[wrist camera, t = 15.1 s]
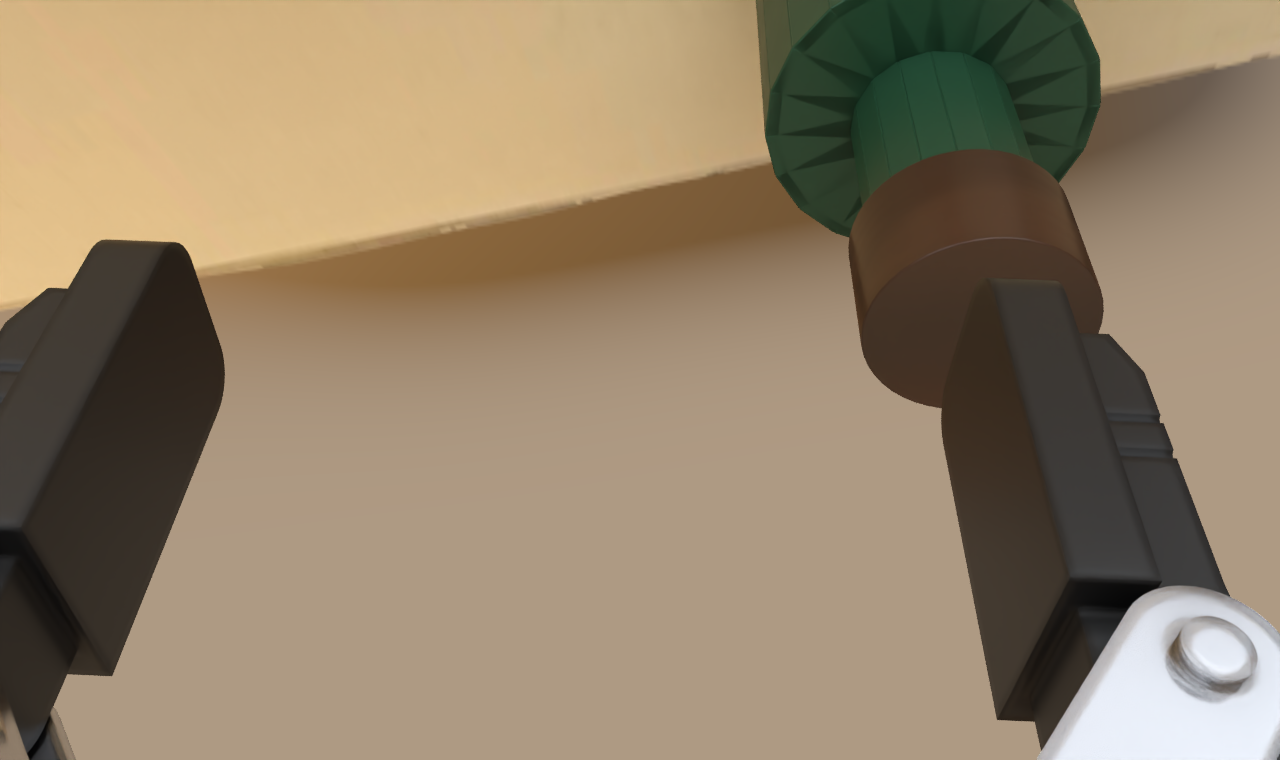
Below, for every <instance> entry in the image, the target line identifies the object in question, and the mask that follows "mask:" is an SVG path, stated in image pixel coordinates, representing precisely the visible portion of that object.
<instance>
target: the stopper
mask: <svg viewBox="0 0 1280 760" xmlns="http://www.w3.org/2000/svg"><path fill="white" fill-rule="evenodd" d="M849 260H850V268H851V275H852V282H853V289H854V296H855V304H856V311H857V318H858V325H859V332H860V339H861V346H862V350H863V355H864V358H865V359H866V362H867V364H868V366H869V368H870V369H871V371H872V372H873V374H874V375H875V376H876V377H877V378H878V379H879V380H880V381H881V382H882V383H883V384H884V385H885V386H886V387H888V388H889V389H890V390H892V391H893V392H895V393H897V394H898V395H900V396H902V397H904V398H906V399H909V400H911V401H914V402H916V403H920V404H923V405H927V406H933V407H937V408H942V400H943V392H944V387H945V383H946V379H947V376H948V372H949V369H950V366H951V363H952V359H953V356H954V353H955V350H956V346H957V343H958V340H959V337H960V333H961V330H962V327H963V324H964V321H965V317H966V314H967V311H968V308H969V304H970V301H971V298H972V295H973V292H974V289H975V287H976V285H977V283H978V282H979V280H981V279H982V278H1003V279H1028V280H1052V281H1058V282H1059V283H1061V284H1062V286H1063V287H1064V289H1065V292H1066V294H1067V297H1068V300H1069V303H1070V306H1071V309H1072V312H1073V315H1074V318H1075V321H1076V324H1077V327H1078V330H1079V333H1091V334H1098V333H1099V330H1100V327H1101V324H1102V318H1103V312H1104V310H1103V297H1102V293H1101V289H1100V286H1099V284H1098V281H1097V278H1096V275H1095V273H1094V270H1093V267H1092V265H1091V262H1090V259H1089V256H1088V254H1087V251H1086V248H1085V245H1084V243H1083V240H1082V237H1081V235H1080V232H1079V229H1078V226H1077V224H1076V221H1075V218H1074V216H1073V213H1072V210H1071V207H1070V205H1069V202H1068V199H1067V197H1066V195H1065V193H1064V191H1063V189H1062V188H1061V186H1060V185H1059V183H1058V182H1057V180H1056V179H1055V178H1054V177H1053V176H1052V175H1051V174H1050V173H1049V172H1047V171H1046V170H1045V169H1043V168H1042V167H1041V166H1039V165H1038V164H1036V163H1034V162H1032V161H1030V160H1028V159H1026V158H1024V157H1021V156H1018V155H1015V154H1012V153H1008V152H1003V151H998V150H988V149H966V150H958V151H951V152H947V153H942V154H938V155H935V156H932V157H929V158H926V159H923V160H921V161H919V162H916V163H914V164H912V165H910V166H908V167H906V168H904V169H903V170H901V171H899V172H898V173H896V174H894V175H893V176H892V177H890V178H889V179H888V180H886V181H885V182H884V183H883V184H882V185H881V186H880V187H878V188H877V189H876V190H875V191H874V192H873V193H872V195H871V196H870V197H869V198H868V199H867V201H866V202H865V203H864V205H863V206H862V208H861V210H860V211H859V213H858V215H857V217H856V219H855V221H854V223H853V226H852V230H851V233H850V238H849Z"/></svg>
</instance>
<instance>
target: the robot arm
mask: <svg viewBox="0 0 1280 760" xmlns="http://www.w3.org/2000/svg"><path fill="white" fill-rule="evenodd" d="M224 371H225V370H224V359H223V353H222V349H221V346H220V343H219V340H218V337H217V334H216V331H215V328H214V325H213V322H212V319H211V316H210V313H209V311H208V308H207V305H206V302H205V299H204V296H203V293H202V290H201V287H200V284H199V281H198V278H197V275H196V272H195V269H194V266H193V263H192V260H191V258H190V256H189V254H188V252H187V250H186V249H185V248H184V246H183V245H181V244H180V243H176V242H154V241H130V240H101V241H99V242H97V243H96V244H95V245H94V246H93V248H92V249H91V251H90V252H89V254H88V255H87V257H86V259H85V261H84V262H83V264H82V266H81V267H80V269H79V271H78V273H77V274H76V276H75V278H74V279H73V281H72V283H71V285H70V286H69V288H68V289H62V288H47V289H46V290H45V291H44V292H43V293H41V294H40V295H39V296H38V297H36V298H35V299H34V300H33V301H31V302H30V303H29V304H28V305H26V306H25V307H24V308H23V309H22V310H20V311H19V312H18V313H17V314H15V315H14V316H13V317H12V318H10V319H9V320H8V321H7V322H6V323H5V324H4V326H3V328H2V329H1V331H0V760H76V759H75V756H74V753H73V751H72V748H71V745H70V743H69V740H68V737H67V735H66V732H65V730H64V727H63V725H62V722H61V719H60V717H59V715H58V713H57V711H56V710H55V708H54V707H53V706H54V703H55V701H56V699H57V696H58V694H59V692H60V689H61V687H62V685H63V683H64V680H65V678H66V675H67V674H78V675H98V676H99V675H100V676H112V675H113V672H114V670H115V667H116V665H117V662H118V660H119V657H120V655H121V652H122V650H123V647H124V645H125V642H126V640H127V637H128V635H129V632H130V630H131V627H132V625H133V623H134V620H135V617H136V615H137V612H138V610H139V607H140V605H141V603H142V600H143V597H144V595H145V593H146V590H147V587H148V585H149V582H150V580H151V578H152V575H153V573H154V570H155V568H156V565H157V562H158V560H159V558H160V555H161V553H162V550H163V548H164V545H165V543H166V540H167V538H168V535H169V533H170V530H171V528H172V525H173V523H174V520H175V518H176V515H177V513H178V510H179V508H180V505H181V503H182V500H183V498H184V495H185V493H186V490H187V488H188V485H189V483H190V480H191V478H192V476H193V473H194V470H195V468H196V465H197V463H198V460H199V458H200V456H201V453H202V451H203V448H204V446H205V443H206V441H207V438H208V436H209V433H210V431H211V428H212V426H213V423H214V421H215V418H216V416H217V413H218V411H219V407H220V405H221V401H222V396H223V391H224V378H225V377H224V376H225V372H224ZM941 415H942V416H941V417H942V418H941V419H942V420H941V422H942V423H941V424H942V437H943V444H944V450H945V455H946V460H947V465H948V470H949V475H950V480H951V486H952V490H953V496H954V501H955V506H956V511H957V516H958V522H959V527H960V532H961V537H962V542H963V547H964V552H965V558H966V562H967V568H968V573H969V578H970V583H971V588H972V593H973V598H974V604H975V609H976V614H977V619H978V624H979V629H980V635H981V639H982V645H983V650H984V655H985V660H986V665H987V671H988V676H989V681H990V686H991V691H992V696H993V701H994V707H995V712H996V717H997V720H1012V721H1033V722H1035V724H1036V729H1037V734H1038V738H1039V743H1040V747H1041V753H1040V755H1039V756H1038V758H1037V759H1036V760H1280V634H1279V632H1278V631H1277V630H1276V629H1275V628H1274V627H1273V626H1272V625H1271V624H1270V623H1269V622H1268V621H1267V620H1265V619H1264V618H1263V617H1262V616H1260V615H1259V614H1258V613H1257V612H1255V611H1254V610H1252V609H1251V608H1249V607H1248V606H1246V605H1244V604H1243V603H1241V602H1239V601H1237V600H1235V599H1233V598H1231V597H1230V595H1229V593H1228V591H1227V589H1226V587H1225V584H1224V582H1223V579H1222V577H1221V574H1220V571H1219V569H1218V566H1217V564H1216V561H1215V558H1214V556H1213V553H1212V550H1211V548H1210V545H1209V542H1208V540H1207V537H1206V534H1205V532H1204V529H1203V526H1202V524H1201V521H1200V519H1199V516H1198V513H1197V511H1196V508H1195V505H1194V503H1193V500H1192V497H1191V495H1190V492H1189V490H1188V487H1187V484H1186V482H1185V479H1184V476H1183V474H1182V471H1181V469H1180V466H1179V464H1178V461H1177V459H1175V458H1173V455H1172V454H1173V447H1172V445H1171V442H1170V439H1169V437H1168V434H1167V431H1166V429H1165V426H1164V424H1163V423H1160V421H1159V418H1160V413H1159V410H1158V408H1157V405H1156V402H1155V400H1154V397H1153V394H1152V392H1151V389H1150V386H1149V384H1148V381H1147V379H1146V376H1145V373H1144V372H1143V371H1142V370H1141V368H1140V367H1139V366H1138V365H1137V364H1136V363H1135V362H1134V361H1133V360H1132V359H1131V358H1130V356H1129V355H1128V354H1127V353H1126V352H1125V351H1124V350H1123V349H1122V348H1121V347H1120V346H1119V345H1118V344H1117V342H1116V341H1115V340H1114V339H1113V338H1112V337H1111V336H1110V335H1109V334H1091V333H1079V330H1078V327H1077V324H1076V321H1075V318H1074V315H1073V312H1072V309H1071V306H1070V303H1069V300H1068V297H1067V294H1066V292H1065V289H1064V287H1063V286H1062V284H1061V283H1059V282H1058V281H1052V280H1028V279H1003V278H982V279H981V280H979V282H978V283H977V285H976V287H975V289H974V292H973V295H972V298H971V301H970V304H969V308H968V311H967V314H966V317H965V321H964V324H963V327H962V330H961V333H960V337H959V340H958V343H957V346H956V350H955V353H954V356H953V359H952V363H951V366H950V369H949V372H948V376H947V379H946V383H945V387H944V392H943V400H942V414H941Z"/></svg>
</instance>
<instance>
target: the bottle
mask: <svg viewBox="0 0 1280 760" xmlns="http://www.w3.org/2000/svg"><path fill="white" fill-rule="evenodd" d="M756 8H757V23H758V38H759V53H760V68H761V83H762V97H763V112H764V127H765V138H766V142H767V146H768V150H769V153H770V157H771V161H772V165H773V169H774V173H775V175H776V177H777V179H778V180H779V181H780V183H781V184H782V186H783V187H784V188H785V189H786V191H787V192H788V194H789V195H790V197H791V198H792V199H793V201H794V202H795V203H796V205H797V206H798V208H800V209H801V210H802V211H803V212H805V213H806V214H808V215H809V216H811V217H812V218H813V219H815V220H816V221H818V222H819V223H821V224H822V225H824V226H825V227H827V228H829V230H831V231H832V232H835V233H836V234H840V235H843V236H846V237H849V238H850V233H851V230H852V226H853V223H854V221H855V219H856V217H857V215H858V213H859V211H860V210H861V208H862V206H863V205H864V203H865V202H866V201H867V199H868V198H869V197H870V196H871V195H872V193H873V192H874V191H875V190H876V189H877V188H878V187H880V186H881V185H882V184H883V183H884V182H885V181H886V180H888V179H889V178H890V177H892V176H893V175H894V174H896V173H898V172H899V171H901V170H903V169H904V168H906V167H908V166H910V165H912V164H914V163H916V162H919V161H921V160H923V159H926V158H929V157H932V156H935V155H938V154H942V153H947V152H951V151H958V150H966V149H988V150H998V151H1003V152H1008V153H1012V154H1015V155H1018V156H1021V157H1024V158H1026V159H1028V160H1030V161H1032V162H1034V163H1036V164H1038V165H1039V166H1041V167H1042V168H1043V169H1045V170H1046V171H1047V172H1049V173H1050V174H1051V175H1052V176H1053V177H1054V178H1055V179H1056V180H1057V182H1058V183H1059V182H1060V181H1061V179H1062V178H1063V177H1064V175H1065V174H1066V173H1067V171H1068V170H1069V169H1070V168H1071V166H1072V165H1073V164H1074V162H1075V161H1076V160H1077V158H1078V157H1079V156H1080V154H1081V153H1082V152H1083V150H1084V148H1085V147H1086V144H1087V141H1088V138H1089V136H1090V132H1091V130H1092V127H1093V124H1094V122H1095V119H1096V116H1097V113H1098V110H1099V108H1100V103H1101V86H1100V59H1099V55H1098V53H1097V51H1096V48H1095V46H1094V44H1093V42H1092V40H1091V37H1090V35H1089V33H1088V31H1087V29H1086V26H1085V24H1084V22H1083V20H1082V17H1081V15H1080V13H1079V11H1078V9H1077V7H1076V5H1075V3H1074V0H756Z"/></svg>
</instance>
